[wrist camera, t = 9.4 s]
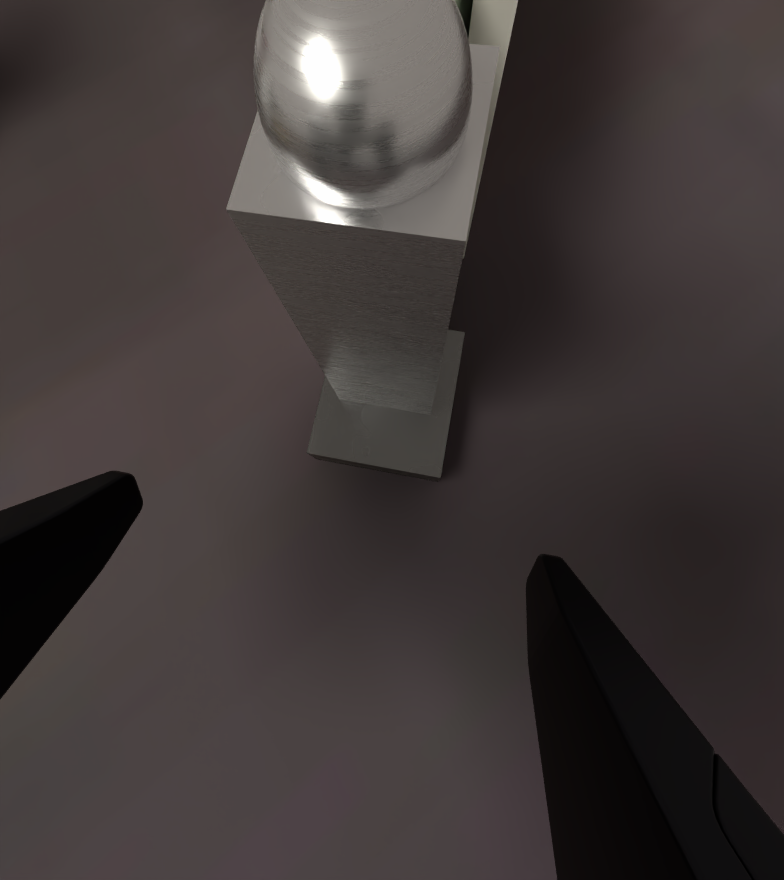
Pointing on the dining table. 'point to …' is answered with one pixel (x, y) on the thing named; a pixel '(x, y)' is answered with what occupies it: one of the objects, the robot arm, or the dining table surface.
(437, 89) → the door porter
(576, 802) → the robot arm
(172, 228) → the dining table surface
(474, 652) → the dining table surface
